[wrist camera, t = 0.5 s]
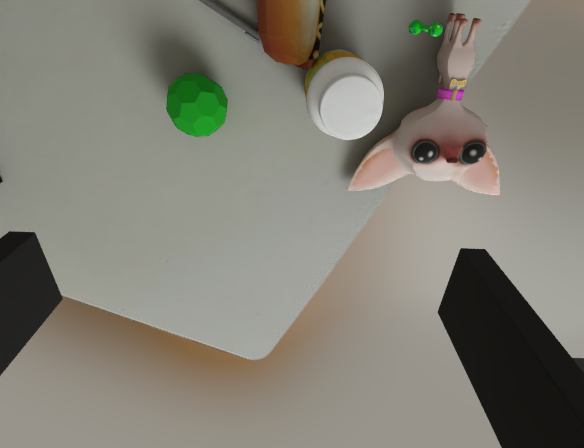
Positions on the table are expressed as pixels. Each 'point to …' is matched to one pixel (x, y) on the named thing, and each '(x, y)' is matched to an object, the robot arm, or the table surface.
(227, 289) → the table surface
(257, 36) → the pen
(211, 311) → the table surface
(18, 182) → the table surface
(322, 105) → the supplement bottle
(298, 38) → the hot dog
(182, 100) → the polyhedron
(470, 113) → the toy dog
